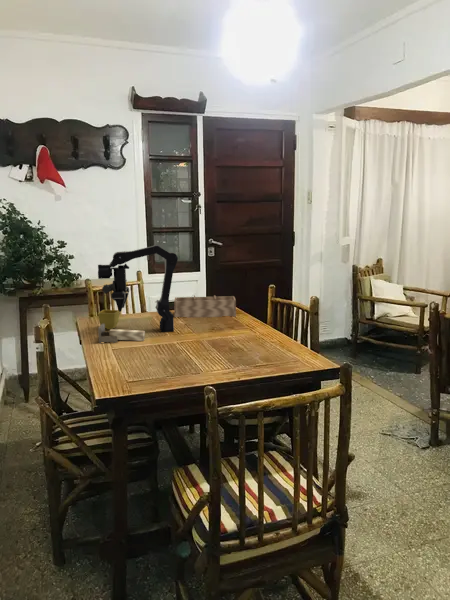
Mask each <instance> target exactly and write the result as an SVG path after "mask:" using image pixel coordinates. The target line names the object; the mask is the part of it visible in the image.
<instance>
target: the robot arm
mask: <svg viewBox="0 0 450 600" xmlns="http://www.w3.org/2000/svg"><path fill="white" fill-rule="evenodd" d="M155 254H157V255H158V256H160V257H161V258H163V259H164V275H163V283H162V289H161V294H160V298H159V300H158V299H156V306H155V309H156V312H157V314H158V315H159V317H160V321H159V330H160V332H162V333H163V332H164V333H165V332H167V333H169V332H175V331H174V330H175V326H174V325H175V324H174V322H175V321H174V319H175V314H173V313H172V311H170V295H171V294H170V293H171V288H172V287H171V286H172V281H173V274H174V271H175V268H176V266H177V263H178V261H179V260H178V259H179V258H178V255H177V254H176V253H175V252H172V251H168V250H166V249H164V248H162V247H161V246H160V245H159V244H154V245H151V246H147V247H144V248H140V249H139V248H138V249H134V250H129V251H127V250H125V251H116V252H114V253H113V255H112V260H111V261H110V262H109V264H97V270H98V271H97V278H98V280H102V279H103V280H104V279H111V277H113V281H112V283H109V284H104V285H103V287H102V292H103V293H104V295H105V294H107V293H110V292H111V296H110V297H111V299H112V300H113V301H115V303H116V308H117V310H119V313H120V312H122V310H123V308H125V306H126V303H127V299H128V297H129V293H130V287H129V286H127V281H128V280H127V274H126V270H129V269H130V266H129V265H127V263H128V262H130V261H132V260H134V259H138V258H142V257H147V256H151V255H155Z"/></svg>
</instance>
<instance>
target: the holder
mask: <svg viewBox="0 0 450 600" xmlns="http://www.w3.org/2000/svg"><path fill="white" fill-rule="evenodd" d="M173 303H174V307H173V308H174V309H173V310H174V318H175V317H187V318H222V316H233V317H237V300H236V297H235V296H234V295H231V296H229V295H228V296H225V295H224V296H216V295H215V294H214V295H213V296H196V295H193V296H183V297H179V296H178V297H177V296H176V297H174V301H173Z"/></svg>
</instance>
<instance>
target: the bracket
mask: <svg viewBox="0 0 450 600" xmlns="http://www.w3.org/2000/svg"><path fill="white" fill-rule="evenodd" d="M97 333H98V334H97V336H98V344H102V343H101V342H113V343H112V344H116V343H115V342H117V341H118V342H119V340H117V336H109V331H106V329H105V324H101V325H99V326H98V328H97ZM118 342H117V343H118Z"/></svg>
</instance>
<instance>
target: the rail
mask: <svg viewBox="0 0 450 600" xmlns="http://www.w3.org/2000/svg"><path fill="white" fill-rule="evenodd" d="M108 332H109V336H117V340H118V341H121V340H122V341H134V342H135V341H141V342H144V341H145V339H146V338H145V336H146V331H145V330H137V329H136V330H135V329H133V330H132V329H118V328H114V329H109V330H108Z"/></svg>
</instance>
